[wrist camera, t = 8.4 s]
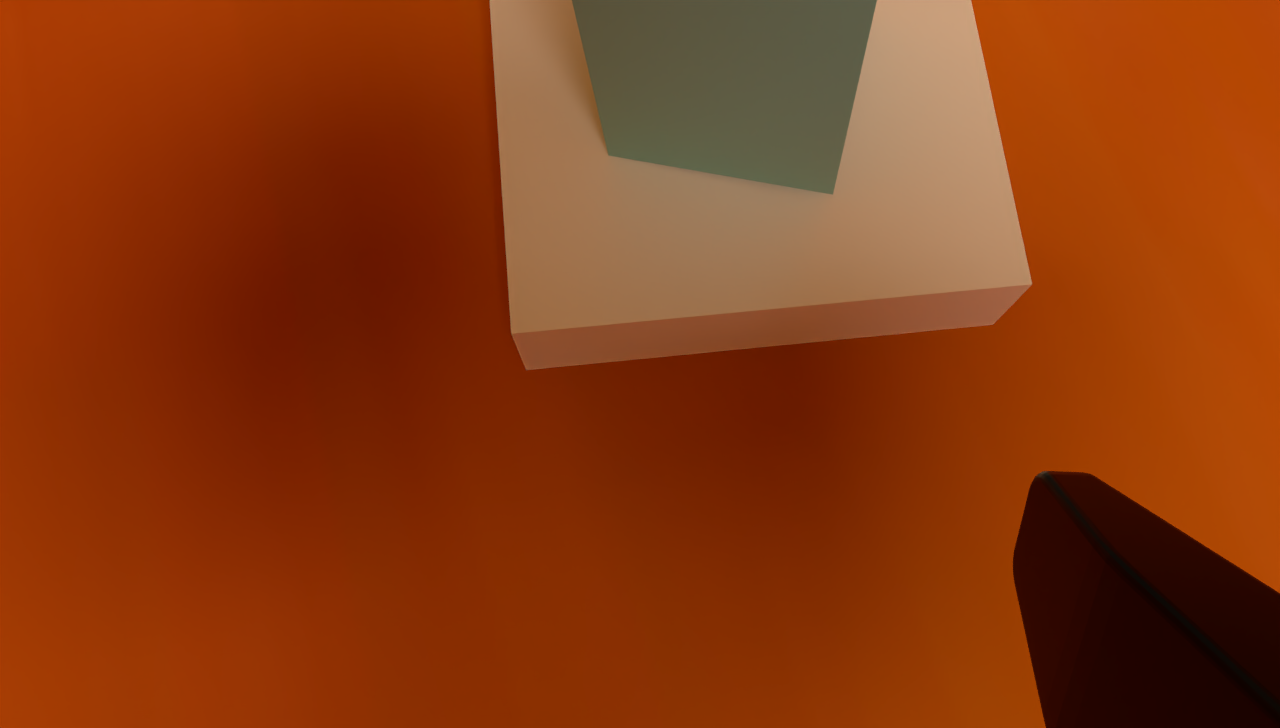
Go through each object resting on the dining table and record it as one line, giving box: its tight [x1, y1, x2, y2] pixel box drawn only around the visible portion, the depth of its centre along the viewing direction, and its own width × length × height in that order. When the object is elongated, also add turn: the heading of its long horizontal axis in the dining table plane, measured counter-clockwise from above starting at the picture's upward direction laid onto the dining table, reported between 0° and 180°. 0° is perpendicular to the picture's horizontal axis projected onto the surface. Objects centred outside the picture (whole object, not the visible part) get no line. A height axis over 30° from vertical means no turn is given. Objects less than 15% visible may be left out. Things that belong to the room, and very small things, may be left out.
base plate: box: [489, 0, 1032, 370], centre depth 23 cm, size 10×10×3 cm
